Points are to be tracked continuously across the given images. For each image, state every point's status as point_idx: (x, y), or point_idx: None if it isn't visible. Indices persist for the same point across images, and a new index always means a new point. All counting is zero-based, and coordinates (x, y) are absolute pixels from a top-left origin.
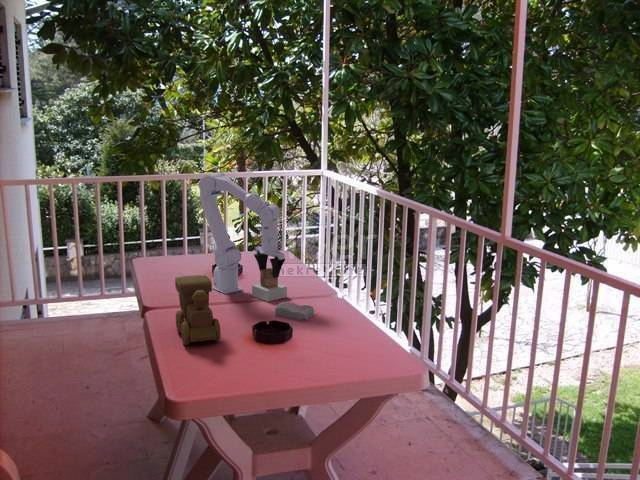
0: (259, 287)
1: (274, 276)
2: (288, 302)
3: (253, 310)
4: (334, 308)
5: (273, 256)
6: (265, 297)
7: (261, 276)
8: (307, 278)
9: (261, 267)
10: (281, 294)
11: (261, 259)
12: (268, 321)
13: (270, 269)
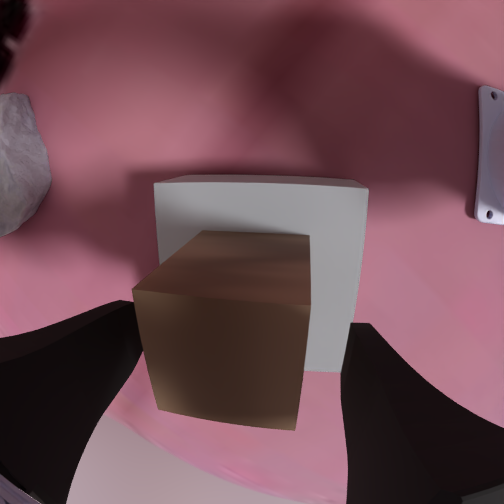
0: (273, 195)
1: (108, 304)
2: (9, 185)
3: (122, 33)
4: (18, 325)
5: (22, 497)
6: (196, 177)
7: (290, 267)
8: (344, 494)
9: (362, 371)
10: None
11: (378, 472)
12: (14, 49)
13: (237, 398)
